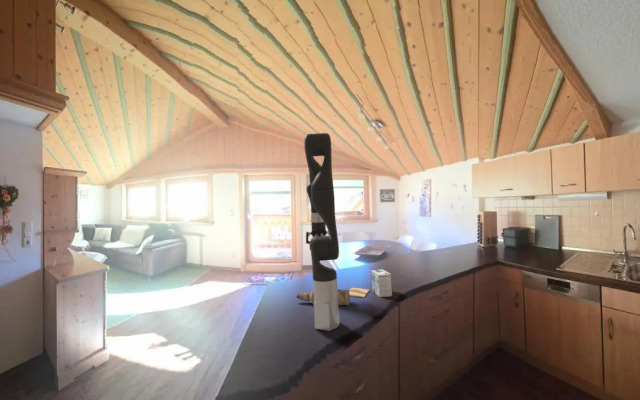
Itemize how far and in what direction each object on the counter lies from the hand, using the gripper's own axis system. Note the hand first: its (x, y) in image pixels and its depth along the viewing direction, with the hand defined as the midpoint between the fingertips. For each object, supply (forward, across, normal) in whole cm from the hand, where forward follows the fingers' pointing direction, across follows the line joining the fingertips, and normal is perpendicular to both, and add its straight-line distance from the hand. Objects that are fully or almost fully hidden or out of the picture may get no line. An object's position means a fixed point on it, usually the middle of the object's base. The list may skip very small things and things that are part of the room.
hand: (319, 250), depth 126 cm
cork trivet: (+22, +18, -7) cm, 29 cm away
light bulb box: (+22, +30, -10) cm, 38 cm away
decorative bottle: (+21, 0, -17) cm, 27 cm away
